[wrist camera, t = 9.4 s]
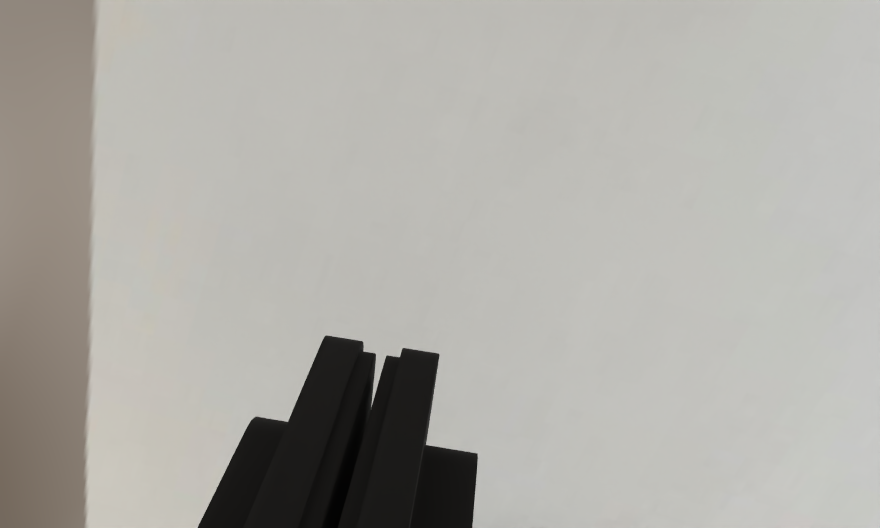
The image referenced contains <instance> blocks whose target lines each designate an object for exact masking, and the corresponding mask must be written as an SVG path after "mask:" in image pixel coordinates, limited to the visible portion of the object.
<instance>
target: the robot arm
mask: <svg viewBox="0 0 880 528" xmlns="http://www.w3.org/2000/svg"><path fill="white" fill-rule="evenodd" d="M375 361H376V354H375V353H368V352H363V342H362V341H357V340H351V339H345V338H338V337H332V336H325V337H324V339H323V341H322V343H321V345H320V348H319V350H318V353H317V355H316V357H315V360H314V362H313V364H312V367H311V369H310V371H309V374H308V376H307V379H306V381H305V383H304V386H303V388H302V390H301V393H300V395H299V397H298V400H297V402H296V404H295V407H294V409H293V412H292V414H291V416H290V419H289V421H288V422H284V421H278V420H272V419H266V418H260V417H255V418H254V419H252V420H251V422H250V424H249V425H248V427H247V429H246V431H245V433H244V435H243V437H242V439H241V441H240V443H239V445H238V447H237V449H236V451H235V453H234V455H233V457H232V459H231V461H230V463H229V465H228V467H227V469H226V471H225V473H224V475H223V477H222V479H221V481H220V483H219V485H218V487H217V489H216V492H215V494H214V496H213V498H212V500H211V502H210V504H209V506H208V508H207V510H206V512H205V514H204V516H203V518H202V520H201V522H200V524H199V526H198V528H472V523H473V510H474V498H475V486H476V474H477V459H478V457H477V454H476V453H470V452H464V451H458V450H452V449H446V448H440V447H434V446H428V445H426V440H427V434H428V427H429V420H430V414H431V407H432V400H433V394H434V387H435V381H436V374H437V367H438V361H439V354H437V353H431V352H425V351H418V350H412V349H406V348H403V349H402V352H401V356H400V358H399V357H393V356H386V359H385V362H384V366H383V369H382V373H381V376H380V380H379V383H378V387H377V390H376V394H375V398H374V401H373V405H372V408H371V403H372V393H373V382H374V372H375Z"/></svg>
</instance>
